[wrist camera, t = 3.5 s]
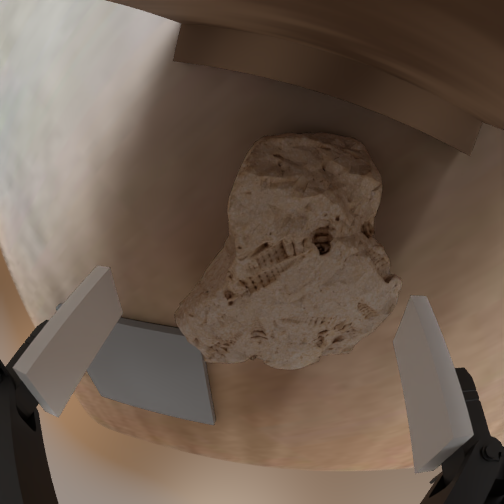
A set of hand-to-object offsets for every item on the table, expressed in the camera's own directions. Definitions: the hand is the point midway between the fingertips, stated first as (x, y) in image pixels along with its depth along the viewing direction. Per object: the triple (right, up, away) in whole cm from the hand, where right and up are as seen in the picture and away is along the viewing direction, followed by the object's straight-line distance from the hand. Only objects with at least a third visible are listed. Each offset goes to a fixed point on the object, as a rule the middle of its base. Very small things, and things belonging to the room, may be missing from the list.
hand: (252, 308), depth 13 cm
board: (+4, +11, -3) cm, 12 cm away
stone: (+2, +3, +3) cm, 4 cm away
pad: (-9, -7, +10) cm, 16 cm away
